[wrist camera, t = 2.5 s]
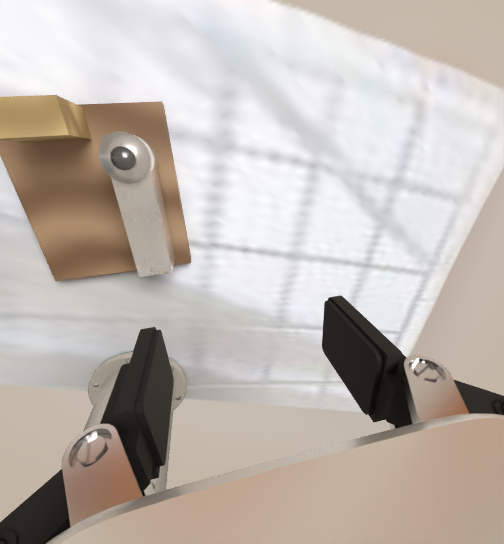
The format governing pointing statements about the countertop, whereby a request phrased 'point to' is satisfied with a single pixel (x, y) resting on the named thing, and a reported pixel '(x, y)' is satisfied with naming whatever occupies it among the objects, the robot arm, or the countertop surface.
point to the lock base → (82, 179)
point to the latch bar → (139, 200)
